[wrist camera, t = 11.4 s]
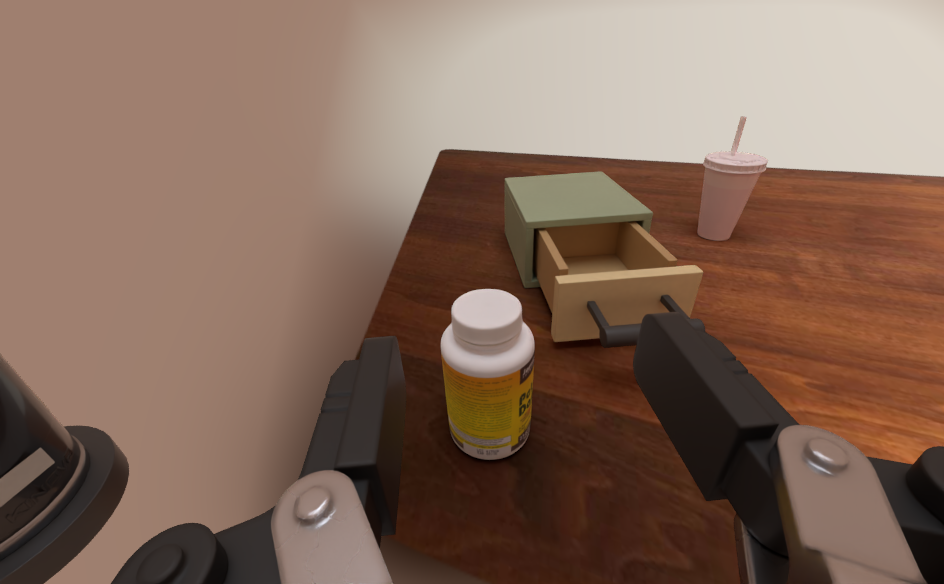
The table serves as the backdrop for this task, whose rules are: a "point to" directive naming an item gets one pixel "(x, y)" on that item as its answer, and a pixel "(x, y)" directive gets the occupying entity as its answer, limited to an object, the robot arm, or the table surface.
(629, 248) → the drawer
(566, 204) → the cabinet
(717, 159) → the smoothie
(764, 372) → the table surface
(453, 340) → the supplement bottle
